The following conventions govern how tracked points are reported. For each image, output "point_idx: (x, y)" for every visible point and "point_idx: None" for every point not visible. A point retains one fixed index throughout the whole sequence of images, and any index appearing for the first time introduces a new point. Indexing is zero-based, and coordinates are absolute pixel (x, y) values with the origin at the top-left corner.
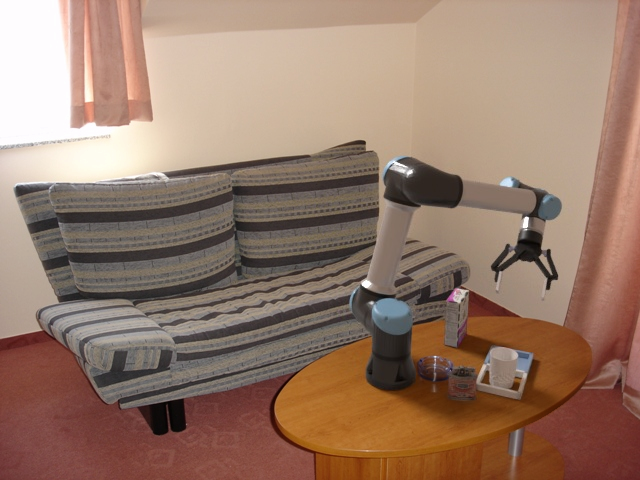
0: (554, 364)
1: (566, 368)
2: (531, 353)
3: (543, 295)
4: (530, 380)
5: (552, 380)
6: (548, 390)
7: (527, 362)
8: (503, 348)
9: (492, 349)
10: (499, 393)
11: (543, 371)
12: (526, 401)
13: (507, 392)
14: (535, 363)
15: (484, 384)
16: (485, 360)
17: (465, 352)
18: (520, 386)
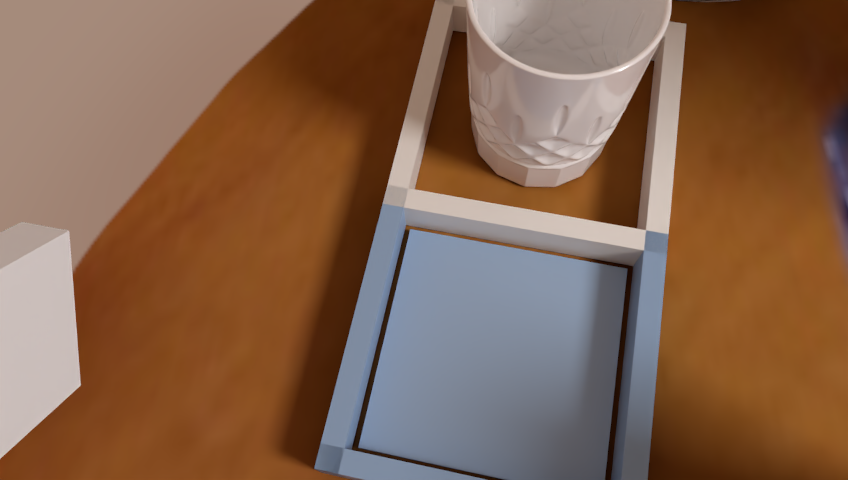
0: (183, 425)
1: (115, 386)
2: (330, 462)
3: (8, 237)
4: (369, 196)
5: (240, 223)
6: (283, 121)
7: (374, 318)
8: (575, 76)
9: (659, 31)
10: None
11: (275, 314)
12: (409, 10)
13: None
14: (312, 410)
15: None
16: (661, 282)
17: (815, 464)
18: (437, 48)
